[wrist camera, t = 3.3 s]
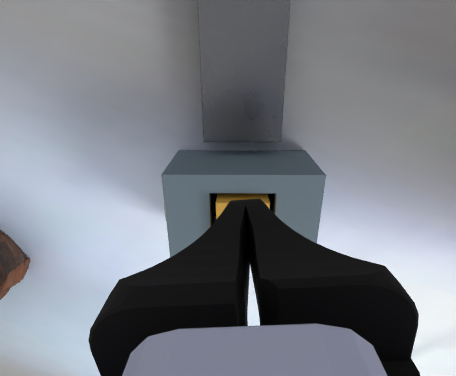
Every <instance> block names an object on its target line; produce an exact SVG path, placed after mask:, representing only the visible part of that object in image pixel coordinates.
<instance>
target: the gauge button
mask: <svg viewBox="0 0 456 376" xmlns="http://www.w3.org/2000/svg"><path fill="white" fill-rule="evenodd" d="M247 199H261V200H262V201H263V202H264V203H265V204H266V205H267V206H268V208H269V209H270V201H269V197H268V193H217V199H216V219H217V218H218V217H219V216H220V214H221V213H222V212H223V210H224V209H225V207H226V206H227V204H228V203H229V202H230V201H232V200H247Z"/></svg>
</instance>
